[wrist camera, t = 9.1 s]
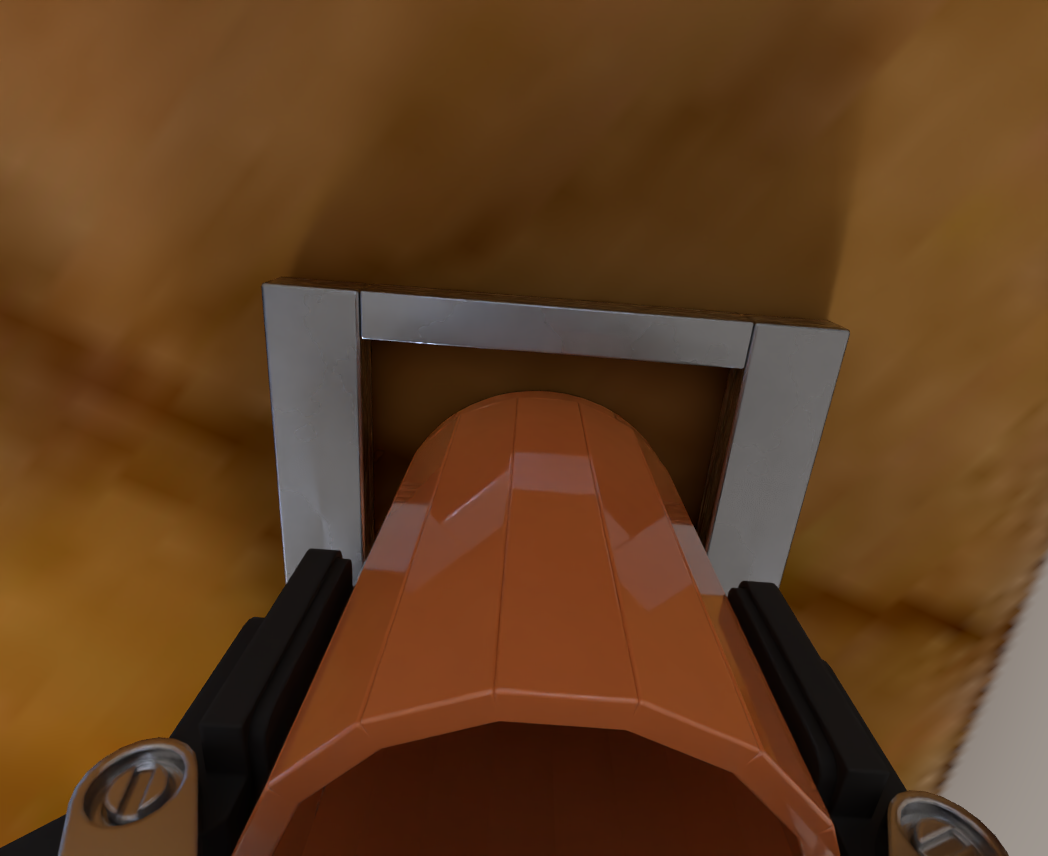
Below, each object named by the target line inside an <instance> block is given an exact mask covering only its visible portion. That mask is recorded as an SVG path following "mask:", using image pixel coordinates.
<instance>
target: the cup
mask: <svg viewBox="0 0 1048 856" xmlns="http://www.w3.org/2000/svg"><path fill="white" fill-rule="evenodd" d="M230 856H841V855H840V850H839V845H838V840H837V835H836V830H835V826H834V824H833V822H832V820H831V817H830V815H829V813H828V811H827V809H826V807H825V805H824V803H823V800H822V798H821V796H820V794H819V792H818V790H817V788H816V786H815V783H814V781H813V779H812V777H811V775H810V773H809V771H808V768H807V766H806V764H805V762H804V760H803V758H802V756H801V754H800V751H799V749H798V747H797V745H796V743H795V741H794V739H793V737H792V734H791V732H790V730H789V728H788V726H787V724H786V722H785V720H784V717H783V715H782V713H781V711H780V709H779V707H778V705H777V703H776V700H775V698H774V696H773V694H772V692H771V690H770V688H769V685H768V683H767V681H766V679H765V677H764V675H763V673H762V671H761V668H760V666H759V664H758V662H757V660H756V658H755V656H754V654H753V651H752V649H751V647H750V645H749V643H748V641H747V639H746V637H745V634H744V632H743V630H742V628H741V626H740V624H739V622H738V619H737V617H736V615H735V613H734V611H733V609H732V607H731V605H730V602H729V600H728V598H727V596H726V594H725V592H724V590H723V588H722V585H721V583H720V581H719V579H718V577H717V575H716V573H715V571H714V568H713V566H712V564H711V562H710V560H709V558H708V556H707V554H706V551H705V549H704V547H703V545H702V543H701V541H700V539H699V536H698V534H697V532H696V530H695V528H694V526H693V524H692V522H691V519H690V517H689V515H688V513H687V511H686V509H685V507H684V505H683V502H682V500H681V498H680V496H679V494H678V492H677V490H676V488H675V485H674V483H673V481H672V479H671V477H670V475H669V473H668V471H667V469H666V467H665V466H664V465H663V464H662V463H661V462H660V460H659V458H658V456H657V454H656V453H655V451H654V450H653V449H652V447H651V446H650V445H649V443H648V442H647V440H646V439H645V438H644V437H643V436H642V435H641V434H640V433H639V432H638V431H637V430H636V429H635V428H634V427H633V426H632V425H630V424H629V423H628V422H627V421H625V420H624V419H623V418H621V417H620V416H619V415H617V414H615V413H614V412H612V411H610V410H608V409H607V408H605V407H603V406H601V405H599V404H596V403H594V402H591V401H589V400H587V399H584V398H580V397H576V396H573V395H569V394H564V393H557V392H550V391H522V392H513V393H507V394H502V395H498V396H494V397H490V398H487V399H485V400H482V401H479V402H477V403H474V404H472V405H470V406H468V407H466V408H464V409H462V410H461V411H459V412H457V413H455V414H454V415H452V416H451V417H450V418H448V419H447V420H446V421H444V422H443V423H441V424H440V425H439V426H438V427H437V428H436V429H435V430H434V431H433V432H432V433H431V434H430V435H429V436H428V437H427V438H426V440H425V441H424V442H423V443H422V445H421V446H420V447H419V448H418V450H417V451H416V452H415V454H414V456H413V458H412V460H411V462H410V464H409V466H408V468H407V470H406V473H405V475H404V477H403V479H402V481H401V483H400V485H399V487H398V489H397V491H396V493H395V495H394V498H393V500H392V502H391V504H390V506H389V509H388V511H387V513H386V515H385V517H384V520H383V522H382V524H381V526H380V528H379V531H378V533H377V535H376V537H375V539H374V542H373V544H372V546H371V548H370V550H369V553H368V555H367V557H366V559H365V561H364V563H363V566H362V568H361V570H360V572H359V574H358V577H357V579H356V581H355V583H354V585H353V588H352V590H351V592H350V594H349V596H348V599H347V601H346V603H345V605H344V607H343V610H342V612H341V614H340V616H339V618H338V621H337V623H336V625H335V627H334V629H333V632H332V634H331V636H330V638H329V640H328V642H327V645H326V647H325V649H324V651H323V653H322V656H321V658H320V660H319V662H318V664H317V667H316V669H315V671H314V673H313V675H312V678H311V680H310V682H309V684H308V686H307V689H306V691H305V693H304V695H303V697H302V700H301V702H300V704H299V706H298V708H297V711H296V713H295V715H294V717H293V719H292V721H291V724H290V726H289V728H288V730H287V732H286V735H285V737H284V739H283V741H282V743H281V746H280V748H279V750H278V752H277V754H276V757H275V759H274V761H273V763H272V765H271V768H270V770H269V772H268V774H267V776H266V779H265V781H264V783H263V785H262V787H261V790H260V792H259V794H258V796H257V798H256V801H255V803H254V805H253V807H252V809H251V811H250V814H249V816H248V818H247V820H246V822H245V825H244V827H243V829H242V831H241V833H240V836H239V838H238V840H237V842H236V844H235V847H234V849H233V851H232V853H231V855H230Z"/></svg>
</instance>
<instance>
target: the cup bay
mask: <svg viewBox="0 0 1048 856" xmlns="http://www.w3.org/2000/svg"><path fill="white" fill-rule="evenodd" d="M261 288H262V300H263V313H264V325H265V337H266V349H267V361H268V374H269V386H270V398H271V410H272V423H273V435H274V447H275V459H276V472H277V484H278V496H279V508H280V521H281V533H282V545H283V557H284V570H285V582H286V584H287V582H288V580H289V579H290V577H291V576H292V574H293V572H294V571H295V569H296V568H297V566H298V565H299V563H300V561H301V560H302V558H303V557H304V555H305V553H306V552H307V551H308V549H311V548H314V549H328V550H340V551H341V552H342V555H343V559H350V560H351V562H352V575H353V585H354V583H355V581H356V579H357V577H358V574H359V572H360V570H361V568H362V566H363V563H364V561H365V559H366V557H367V555H368V553H369V550H370V548H371V546H372V544H373V542H374V539H375V534H374V473H373V411H372V350H371V340H383V341H396V342H409V343H421V344H434V345H446V346H459V347H472V348H484V349H497V350H510V351H522V352H535V353H548V354H560V355H573V356H586V357H598V358H611V359H624V360H636V361H649V362H661V363H674V364H687V365H699V366H712V367H725V368H730V369H729V374H728V378H727V383H726V388H725V393H724V398H723V402H722V407H721V412H720V417H719V421H718V426H717V431H716V436H715V441H714V445H713V450H712V455H711V460H710V465H709V469H708V474H707V479H706V484H705V488H704V493H703V498H702V503H701V508H700V512H699V517H698V522H697V527H696V532H697V534H698V536H699V539H700V541H701V543H702V545H703V547H704V549H705V551H706V554H707V556H708V558H709V560H710V562H711V564H712V566H713V568H714V571H715V573H716V575H717V577H718V579H719V581H720V583H721V585H722V588H723V590H724V592H725V594H726V596H728V593H729V590H730V589H731V588H738V586H739V584H740V583H741V582H742V581H756V582H769V583H774V584H775V585H776V586H777V587H778V589H779V586H780V583H781V579H782V576H783V572H784V568H785V565H786V561H787V558H788V554H789V551H790V547H791V543H792V540H793V536H794V533H795V529H796V525H797V522H798V518H799V515H800V511H801V507H802V504H803V500H804V497H805V493H806V490H807V486H808V482H809V479H810V475H811V472H812V468H813V464H814V461H815V457H816V454H817V450H818V446H819V443H820V439H821V436H822V432H823V429H824V425H825V421H826V418H827V414H828V411H829V407H830V403H831V400H832V396H833V393H834V389H835V385H836V382H837V378H838V375H839V371H840V368H841V364H842V360H843V357H844V353H845V350H846V346H847V342H848V339H849V335H850V331H849V330H848V329H846V328H844V327H842V326H839V325H837V324H835V323H833V322H830V321H828V320H815V319H803V318H790V317H778V316H765V315H753V314H744V315H741V314H739V313H732V312H720V311H707V310H695V309H682V308H670V307H657V306H645V305H632V304H620V303H607V302H595V301H583V300H570V299H558V298H545V297H533V296H520V295H508V294H495V293H483V292H470V291H458V290H446V289H433V288H421V287H408V286H396V285H383V284H371V285H370V286H369V285H368V284H366V283H354V282H342V281H329V280H317V279H304V278H292V277H279V278H276V279H273V280H270V281H268V282H265V283H262V286H261Z"/></svg>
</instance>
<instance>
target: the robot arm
mask: <svg viewBox="0 0 1048 856" xmlns="http://www.w3.org/2000/svg"><path fill="white" fill-rule="evenodd" d="M352 588H353V575H352V562H351V560H350V559H343V555H342V552H341V551H340V550H328V549H314V548H311V549H308V551H307V552H306V553H305V555H304V557H303V558H302V560H301V561H300V563H299V565H298V566H297V568H296V569H295V571H294V572H293V574H292V576H291V577H290V579H289V580H288V582H287V584H286V585H285V587H284V588H283V590H282V592H281V593H280V595H279V596H278V598H277V600H276V601H275V603H274V604H273V606H272V608H271V609H270V611H269V612H268V614H267V615H266V617H265V618H260V617H253V618H251V619H249V620H248V621H247V623H246V624H245V625H244V626H243V628H242V629H241V631H240V632H239V634H238V635H237V637H236V638H235V640H234V641H233V643H232V644H231V646H230V647H229V649H228V650H227V652H226V653H225V655H224V656H223V658H222V659H221V661H220V662H219V664H218V665H217V667H216V668H215V670H214V671H213V673H212V674H211V676H210V677H209V679H208V680H207V682H206V683H205V685H204V686H203V688H202V689H201V691H200V692H199V694H198V695H197V697H196V698H195V700H194V701H193V703H192V704H191V706H190V707H189V709H188V710H187V712H186V713H185V715H184V716H183V718H182V719H181V721H180V722H179V724H178V725H177V727H176V728H175V730H174V731H173V733H172V734H171V736H170V737H169V738H160V737H158V738H152V739H146V740H141V741H138V742H135V743H133V744H130V745H127V746H125V747H122V748H120V749H118V750H117V751H115V752H113V753H112V754H110V755H108V756H106V757H105V758H103V759H102V760H101V761H100V762H98V763H97V764H96V765H95V766H94V767H93V768H91V769H90V770H89V771H88V772H87V773H86V774H85V776H84V777H83V778H82V779H81V781H80V782H79V783H78V785H77V786H76V787H75V789H74V792H73V794H72V797H71V799H70V802H69V804H68V809H67V814H65V815H64V816H62V817H60V818H58V819H56V820H54V821H52V822H50V823H48V824H46V825H44V826H42V827H40V828H38V829H36V830H34V831H33V832H31V833H29V834H27V835H25V836H23V837H21V838H19V839H17V840H15V841H13V842H11V843H9V844H7V845H5V846H3V847H2V848H0V856H230V855H231V853H232V851H233V849H234V847H235V844H236V842H237V840H238V838H239V836H240V833H241V831H242V829H243V827H244V825H245V822H246V820H247V818H248V816H249V814H250V811H251V809H252V807H253V805H254V803H255V801H256V798H257V796H258V794H259V792H260V790H261V787H262V785H263V783H264V781H265V779H266V776H267V774H268V772H269V770H270V768H271V765H272V763H273V761H274V759H275V757H276V754H277V752H278V750H279V748H280V746H281V743H282V741H283V739H284V737H285V735H286V732H287V730H288V728H289V726H290V724H291V721H292V719H293V717H294V715H295V713H296V711H297V708H298V706H299V704H300V702H301V700H302V697H303V695H304V693H305V691H306V689H307V686H308V684H309V682H310V680H311V678H312V675H313V673H314V671H315V669H316V667H317V664H318V662H319V660H320V658H321V656H322V653H323V651H324V649H325V647H326V645H327V642H328V640H329V638H330V636H331V634H332V632H333V629H334V627H335V625H336V623H337V621H338V618H339V616H340V614H341V612H342V610H343V607H344V605H345V603H346V601H347V599H348V596H349V594H350V592H351V590H352ZM727 598H728V600H729V602H730V605H731V607H732V609H733V611H734V613H735V615H736V617H737V619H738V622H739V624H740V626H741V628H742V630H743V632H744V634H745V637H746V639H747V641H748V643H749V645H750V647H751V649H752V651H753V654H754V656H755V658H756V660H757V662H758V664H759V666H760V668H761V671H762V673H763V675H764V677H765V679H766V681H767V683H768V685H769V688H770V690H771V692H772V694H773V696H774V698H775V700H776V703H777V705H778V707H779V709H780V711H781V713H782V715H783V717H784V720H785V722H786V724H787V726H788V728H789V730H790V732H791V734H792V737H793V739H794V741H795V743H796V745H797V747H798V749H799V751H800V754H801V756H802V758H803V760H804V762H805V764H806V766H807V768H808V771H809V773H810V775H811V777H812V779H813V781H814V783H815V786H816V788H817V790H818V792H819V794H820V796H821V798H822V800H823V803H824V805H825V807H826V809H827V811H828V813H829V815H830V817H831V820H832V822H833V824H834V826H835V830H836V835H837V840H838V845H839V850H840V855H841V856H1009V855H1008V853H1007V851H1006V850H1005V848H1004V847H1003V846H1002V844H1001V843H1000V842H999V840H998V839H997V837H996V836H995V835H994V834H993V833H992V832H991V831H990V830H989V829H988V828H987V827H986V826H985V825H984V824H983V823H982V822H981V821H980V820H979V819H978V818H976V817H975V816H973V815H972V814H971V813H969V812H968V811H967V810H965V809H964V808H962V807H961V806H959V805H957V804H955V803H953V802H951V801H949V800H947V799H945V798H944V797H941V796H938V795H935V794H931V793H928V792H925V791H911V790H909V791H907V790H906V788H905V787H904V785H903V784H902V782H901V780H900V779H899V777H898V775H897V774H896V772H895V771H894V769H893V767H892V766H891V764H890V763H889V761H888V759H887V758H886V756H885V754H884V753H883V751H882V750H881V748H880V746H879V745H878V743H877V741H876V740H875V738H874V737H873V735H872V733H871V732H870V730H869V728H868V727H867V725H866V724H865V722H864V720H863V719H862V717H861V716H860V714H859V712H858V711H857V709H856V707H855V706H854V704H853V703H852V701H851V699H850V698H849V696H848V694H847V693H846V691H845V690H844V688H843V686H842V685H841V683H840V681H839V680H838V678H837V677H836V675H835V673H834V672H833V670H832V669H831V667H830V666H829V665H828V664H827V662H826V661H824V660H822V659H821V658H820V656H819V655H818V653H817V651H816V650H815V648H814V646H813V645H812V643H811V641H810V640H809V638H808V637H807V635H806V633H805V632H804V630H803V628H802V627H801V625H800V623H799V622H798V620H797V618H796V617H795V615H794V613H793V612H792V610H791V609H790V607H789V605H788V604H787V602H786V600H785V599H784V597H783V595H782V594H781V592H780V590H779V589H778V587H777V586H776V585H775V584H774V583H769V582H756V581H742V582H741V583H740V584H739V586H738V588H731V589H730V590H729V593H728V596H727Z"/></svg>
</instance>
